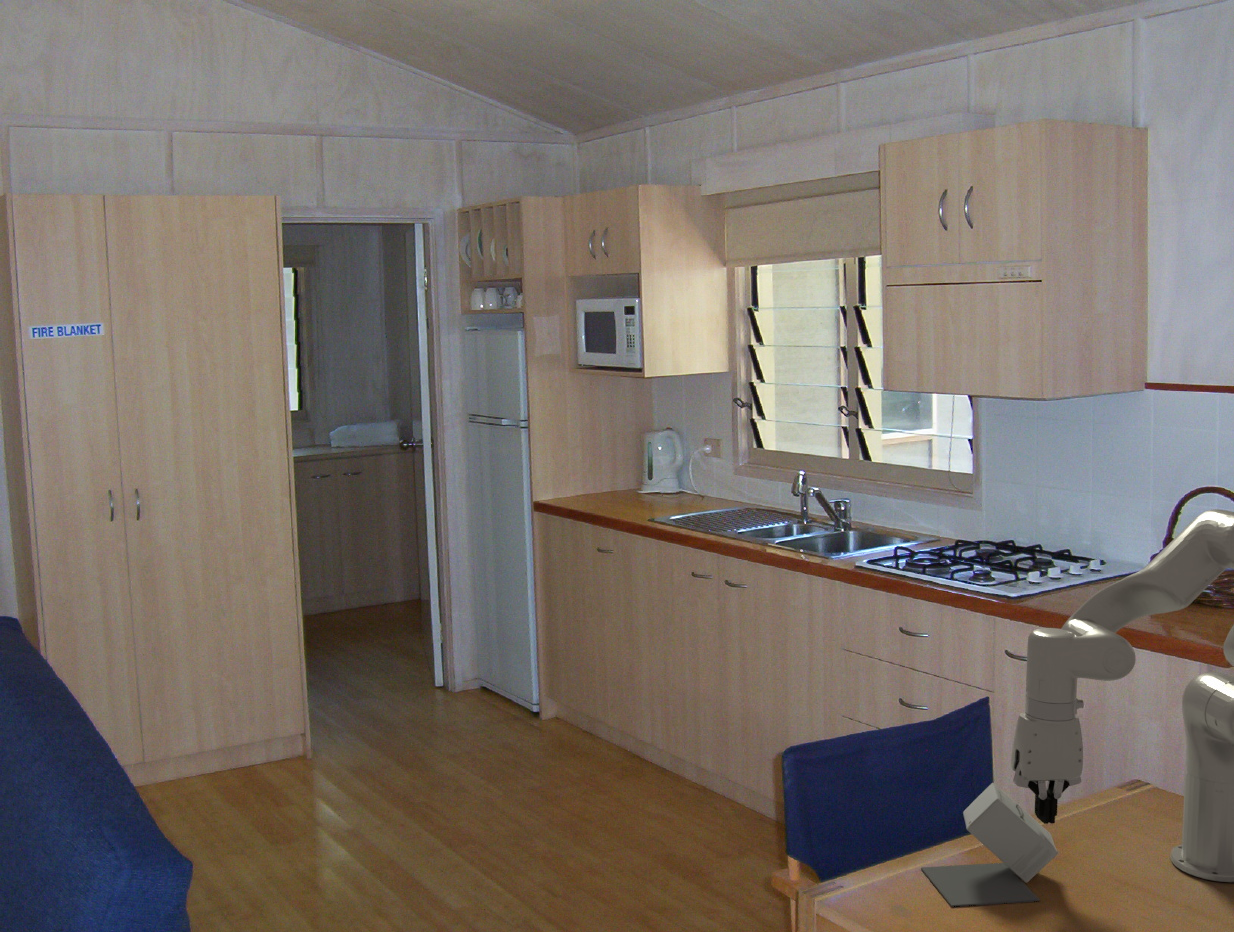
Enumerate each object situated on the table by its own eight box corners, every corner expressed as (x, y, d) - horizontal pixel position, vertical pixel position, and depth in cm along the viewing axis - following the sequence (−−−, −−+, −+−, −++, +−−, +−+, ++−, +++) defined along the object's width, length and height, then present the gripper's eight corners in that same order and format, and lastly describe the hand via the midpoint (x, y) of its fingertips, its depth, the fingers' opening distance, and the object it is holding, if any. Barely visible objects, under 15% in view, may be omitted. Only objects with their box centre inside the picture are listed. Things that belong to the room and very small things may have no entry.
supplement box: (1060, 853, 192) (997, 798, 193) (1026, 885, 193) (964, 830, 194) (1053, 833, 199) (992, 780, 200) (1020, 864, 201) (961, 811, 201)
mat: (1004, 864, 201) (1004, 862, 201) (1039, 901, 188) (1040, 899, 188) (921, 869, 199) (921, 867, 199) (951, 907, 186) (951, 905, 186)
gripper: (1084, 699, 198) (1079, 809, 200) (994, 702, 196) (990, 813, 198) (1107, 714, 190) (1102, 828, 192) (1014, 717, 189) (1010, 832, 191)
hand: (1045, 820), depth 195 cm, fingers closed
